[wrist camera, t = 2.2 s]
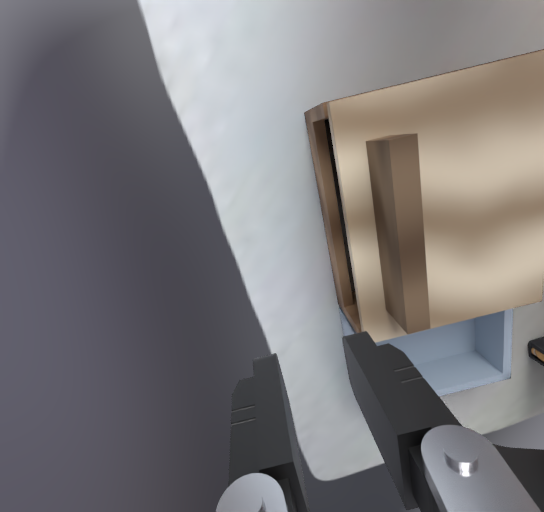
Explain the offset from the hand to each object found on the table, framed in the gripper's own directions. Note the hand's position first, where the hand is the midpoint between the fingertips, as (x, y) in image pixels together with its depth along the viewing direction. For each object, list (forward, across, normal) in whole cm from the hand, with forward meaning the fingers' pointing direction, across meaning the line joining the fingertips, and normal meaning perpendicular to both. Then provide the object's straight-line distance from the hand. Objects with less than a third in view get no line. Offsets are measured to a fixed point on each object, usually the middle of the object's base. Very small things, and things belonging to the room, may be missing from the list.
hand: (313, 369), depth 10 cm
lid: (+11, -11, 0) cm, 16 cm away
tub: (+17, -11, +13) cm, 24 cm away
